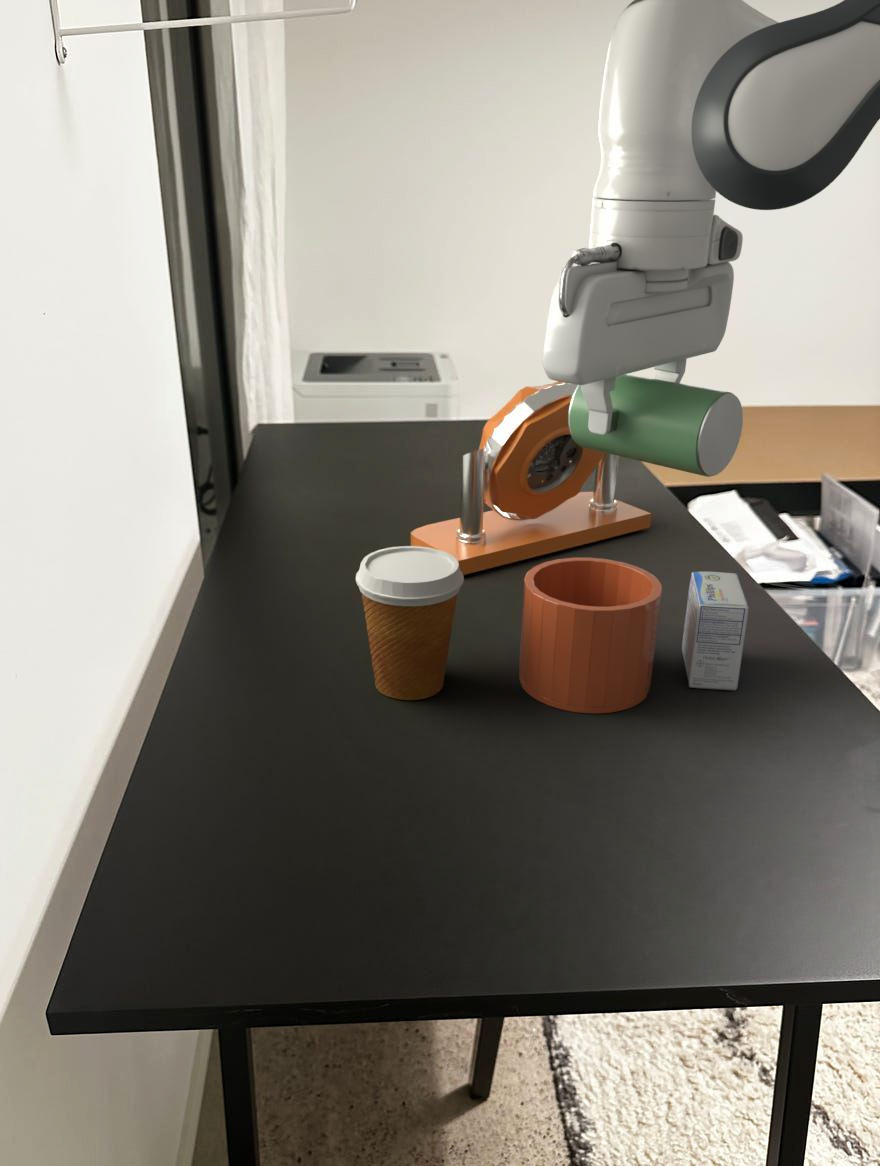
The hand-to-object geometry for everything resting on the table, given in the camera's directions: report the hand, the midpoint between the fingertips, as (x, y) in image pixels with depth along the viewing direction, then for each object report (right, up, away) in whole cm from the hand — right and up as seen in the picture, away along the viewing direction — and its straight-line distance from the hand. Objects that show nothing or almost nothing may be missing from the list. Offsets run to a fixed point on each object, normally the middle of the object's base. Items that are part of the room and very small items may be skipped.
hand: (630, 423), depth 84 cm
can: (+2, -3, 0) cm, 3 cm away
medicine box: (+11, -21, +15) cm, 27 cm away
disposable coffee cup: (-18, -22, +13) cm, 31 cm away
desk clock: (-2, -5, +46) cm, 47 cm away
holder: (-1, -21, +13) cm, 25 cm away
